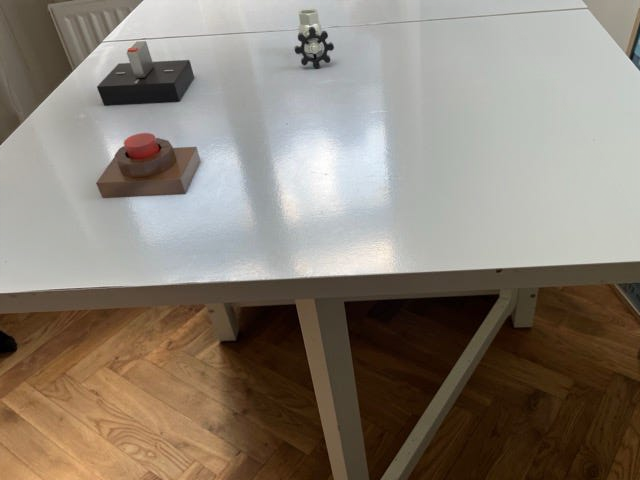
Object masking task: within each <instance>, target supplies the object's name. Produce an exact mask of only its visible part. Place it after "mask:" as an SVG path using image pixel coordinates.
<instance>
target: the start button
mask: <svg viewBox="0 0 640 480" xmlns="http://www.w3.org/2000/svg"><path fill="white" fill-rule="evenodd" d="M156 138H157V137H156V136H155V134H153V133H150V132H142V133H137V134H133V135H130V136H128V137H127V138H126V139H124V141H123V146H125V148H126V151H127V153H128V156H129V158H130V159H144V158H148V157H151V156H153V155H155V154H157V153H158V152H159V151H160V149H159V146H158V143H157V141H156Z"/></svg>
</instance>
